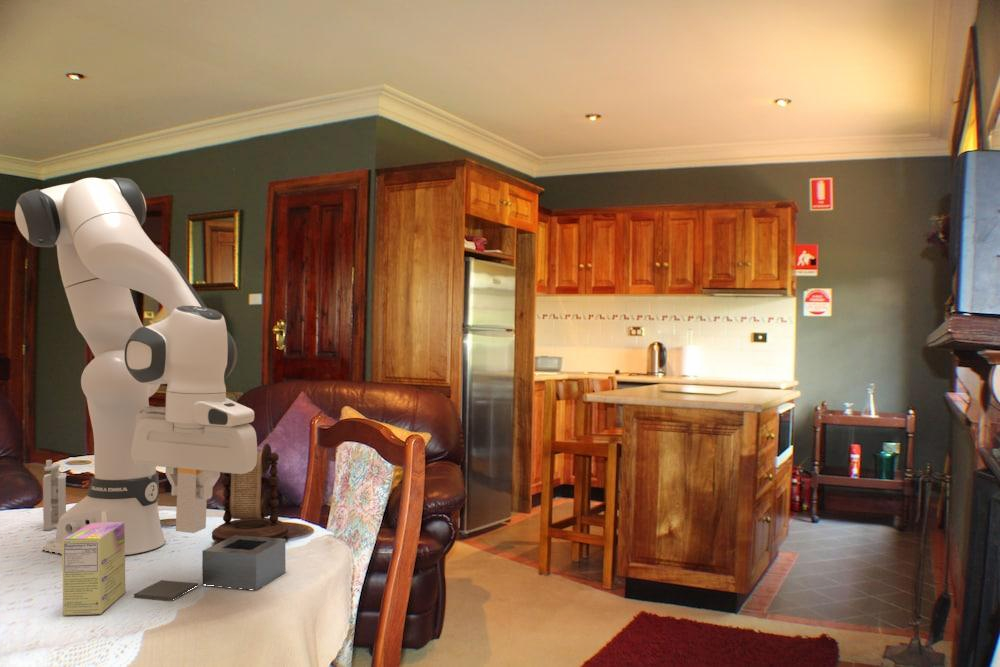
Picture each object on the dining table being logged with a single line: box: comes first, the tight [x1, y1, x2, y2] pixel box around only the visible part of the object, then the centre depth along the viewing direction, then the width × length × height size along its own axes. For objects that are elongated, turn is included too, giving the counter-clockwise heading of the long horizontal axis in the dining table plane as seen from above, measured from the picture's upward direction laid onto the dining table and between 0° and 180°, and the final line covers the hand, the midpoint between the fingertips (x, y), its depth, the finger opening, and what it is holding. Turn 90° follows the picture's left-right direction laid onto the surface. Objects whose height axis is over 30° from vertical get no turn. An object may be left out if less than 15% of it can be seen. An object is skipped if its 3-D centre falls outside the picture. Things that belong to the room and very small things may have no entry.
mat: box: [133, 579, 199, 601], centre depth 133 cm, size 7×7×1 cm
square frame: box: [201, 535, 286, 591], centre depth 140 cm, size 10×10×6 cm
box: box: [61, 522, 126, 617], centre depth 128 cm, size 10×6×12 cm, turn 5°
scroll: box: [211, 442, 289, 544], centre depth 163 cm, size 15×15×20 cm
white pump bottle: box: [42, 459, 67, 531], centre depth 176 cm, size 4×10×15 cm, turn 25°
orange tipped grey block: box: [175, 468, 208, 534], centre depth 127 cm, size 3×3×10 cm
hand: (191, 497), depth 127 cm, fingers closed on orange tipped grey block, 3 cm apart
